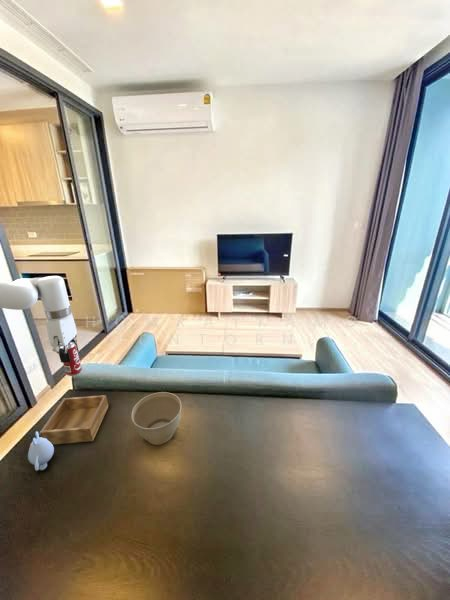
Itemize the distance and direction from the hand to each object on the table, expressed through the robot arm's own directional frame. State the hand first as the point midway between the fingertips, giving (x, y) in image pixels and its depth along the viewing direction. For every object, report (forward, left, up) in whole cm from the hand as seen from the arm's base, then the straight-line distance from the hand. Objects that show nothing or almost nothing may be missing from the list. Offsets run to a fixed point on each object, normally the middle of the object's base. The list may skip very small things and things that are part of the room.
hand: (70, 356), depth 92 cm
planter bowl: (+33, -17, -22) cm, 44 cm away
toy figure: (0, -25, -22) cm, 34 cm away
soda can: (0, 0, -7) cm, 7 cm away
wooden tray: (+3, -10, -22) cm, 25 cm away
